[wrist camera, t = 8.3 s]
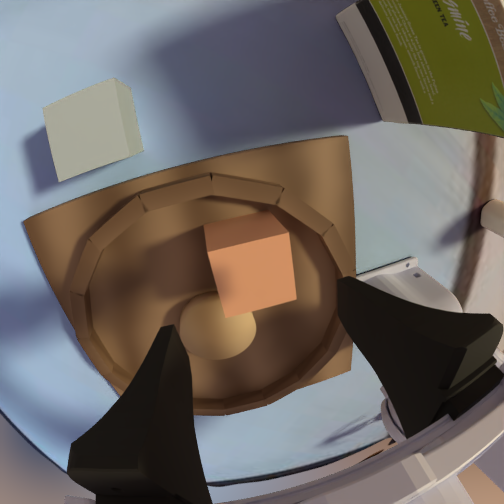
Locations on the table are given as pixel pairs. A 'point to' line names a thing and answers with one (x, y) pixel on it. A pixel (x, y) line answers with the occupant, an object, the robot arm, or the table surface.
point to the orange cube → (250, 262)
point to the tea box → (432, 60)
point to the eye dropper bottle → (493, 217)
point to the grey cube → (92, 128)
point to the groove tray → (208, 271)
